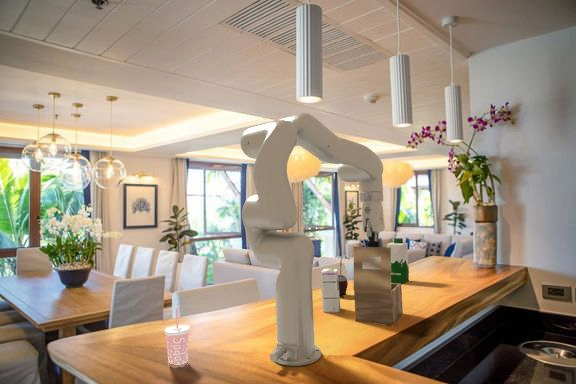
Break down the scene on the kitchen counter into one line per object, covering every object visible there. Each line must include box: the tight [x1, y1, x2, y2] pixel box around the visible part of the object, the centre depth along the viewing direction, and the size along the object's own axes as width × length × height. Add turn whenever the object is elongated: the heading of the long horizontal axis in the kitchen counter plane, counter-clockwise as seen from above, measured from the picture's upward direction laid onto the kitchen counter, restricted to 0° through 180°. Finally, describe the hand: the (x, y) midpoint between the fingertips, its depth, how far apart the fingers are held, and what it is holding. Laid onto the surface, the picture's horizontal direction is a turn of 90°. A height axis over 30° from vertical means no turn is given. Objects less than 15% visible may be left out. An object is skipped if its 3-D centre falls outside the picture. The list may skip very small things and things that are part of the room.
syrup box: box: [320, 268, 341, 313], centre depth 136 cm, size 6×6×14 cm
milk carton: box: [386, 237, 410, 285], centre depth 178 cm, size 9×9×20 cm
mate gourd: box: [338, 256, 349, 298], centre depth 157 cm, size 8×8×15 cm
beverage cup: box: [164, 307, 191, 365], centre depth 95 cm, size 6×6×14 cm
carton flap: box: [353, 246, 391, 293], centre depth 121 cm, size 14×12×1 cm
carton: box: [353, 283, 404, 326], centre depth 126 cm, size 14×12×10 cm
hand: (374, 253), depth 124 cm, fingers closed
